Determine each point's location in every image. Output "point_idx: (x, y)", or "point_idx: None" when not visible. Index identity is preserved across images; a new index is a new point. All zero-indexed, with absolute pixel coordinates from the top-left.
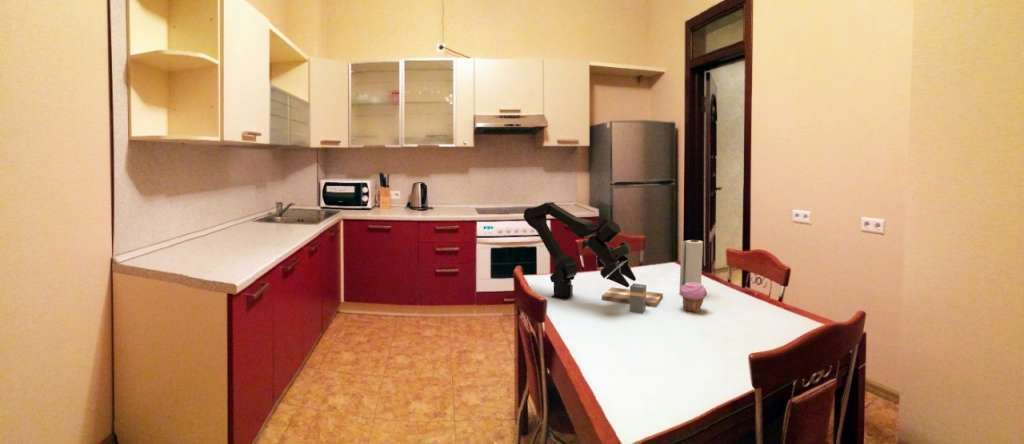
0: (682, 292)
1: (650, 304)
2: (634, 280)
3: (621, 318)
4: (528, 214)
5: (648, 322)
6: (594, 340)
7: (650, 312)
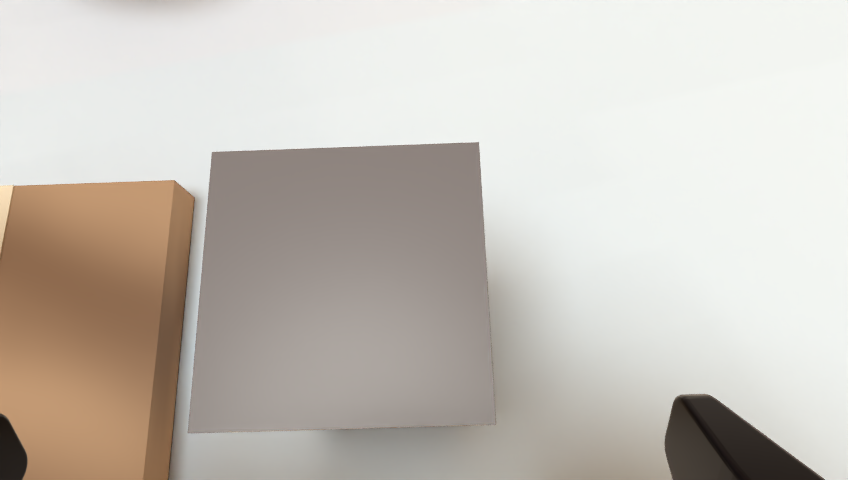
0: None
1: (180, 247)
2: (19, 448)
3: None
4: None
5: (694, 155)
6: None
7: None
